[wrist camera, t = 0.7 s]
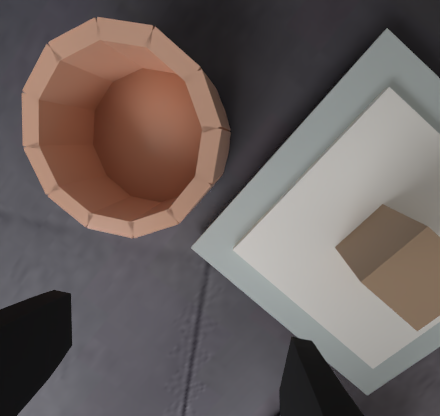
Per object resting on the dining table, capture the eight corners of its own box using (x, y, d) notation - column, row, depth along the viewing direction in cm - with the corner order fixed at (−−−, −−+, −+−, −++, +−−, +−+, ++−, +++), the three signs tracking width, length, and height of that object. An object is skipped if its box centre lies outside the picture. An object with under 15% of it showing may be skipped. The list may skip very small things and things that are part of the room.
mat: (595, 233, 14) (604, 235, 14) (364, 390, 19) (367, 395, 18) (383, 31, 13) (387, 27, 13) (192, 245, 18) (190, 247, 17)
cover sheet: (542, 237, 14) (668, 279, 10) (369, 361, 18) (406, 434, 13) (383, 89, 14) (444, 63, 9) (233, 246, 17) (225, 283, 13)
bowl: (261, 129, 15) (263, 123, 11) (170, 236, 18) (138, 271, 13) (141, 22, 15) (87, -35, 10) (64, 147, 17) (-9, 149, 12)
